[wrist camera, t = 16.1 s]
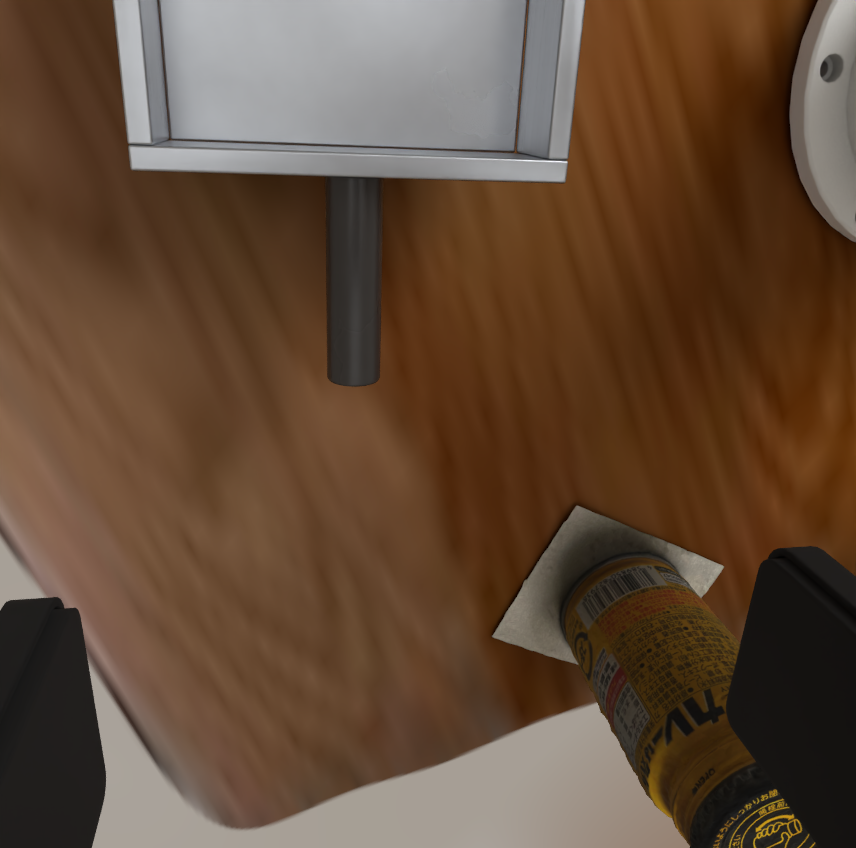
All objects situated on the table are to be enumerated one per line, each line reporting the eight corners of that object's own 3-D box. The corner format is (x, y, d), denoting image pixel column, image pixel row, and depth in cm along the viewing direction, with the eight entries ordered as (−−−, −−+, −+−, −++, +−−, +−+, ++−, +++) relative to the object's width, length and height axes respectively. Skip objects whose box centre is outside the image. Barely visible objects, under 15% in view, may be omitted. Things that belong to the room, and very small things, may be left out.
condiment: (637, 683, 36) (790, 928, 25) (490, 634, 33) (592, 885, 23) (721, 563, 34) (927, 772, 23) (574, 501, 32) (728, 705, 21)
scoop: (565, -258, 19) (622, -331, 16) (510, 355, 26) (543, 391, 22) (107, -323, 17) (66, -422, 14) (171, 360, 24) (154, 400, 20)
